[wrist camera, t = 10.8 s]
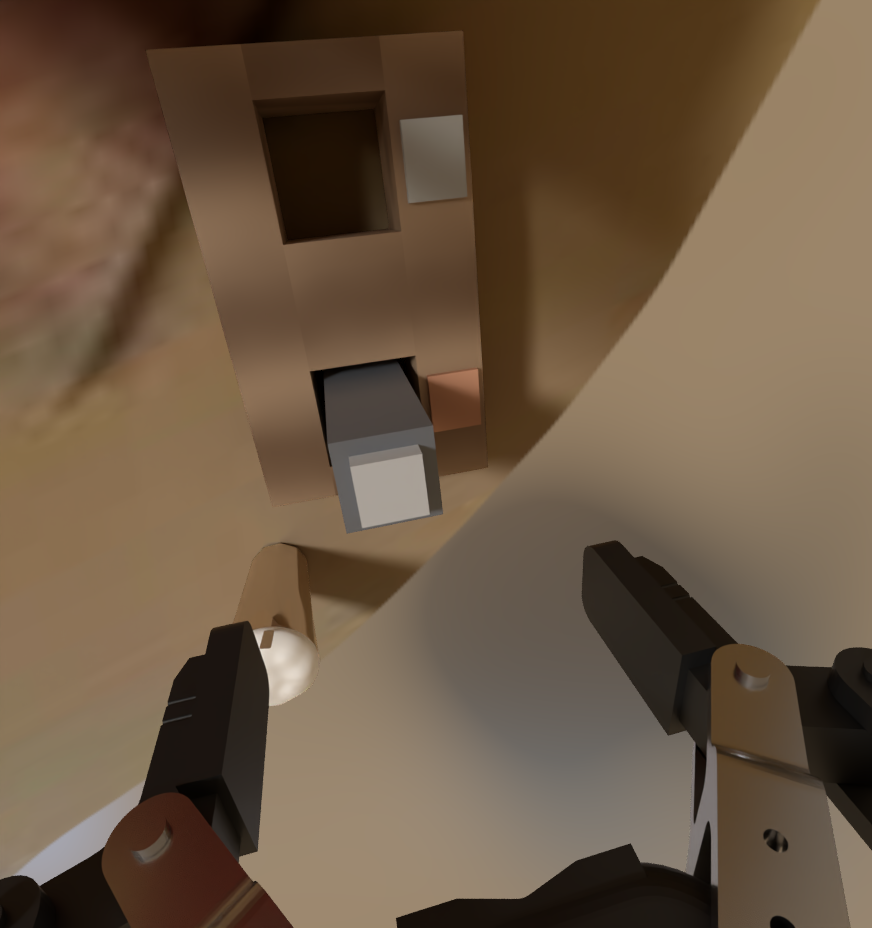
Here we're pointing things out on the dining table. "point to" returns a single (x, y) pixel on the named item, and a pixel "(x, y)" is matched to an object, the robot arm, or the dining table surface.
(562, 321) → the dining table surface
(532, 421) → the dining table surface
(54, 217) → the dining table surface
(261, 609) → the milkshake
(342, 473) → the plug
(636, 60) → the dining table surface
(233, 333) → the port deck
